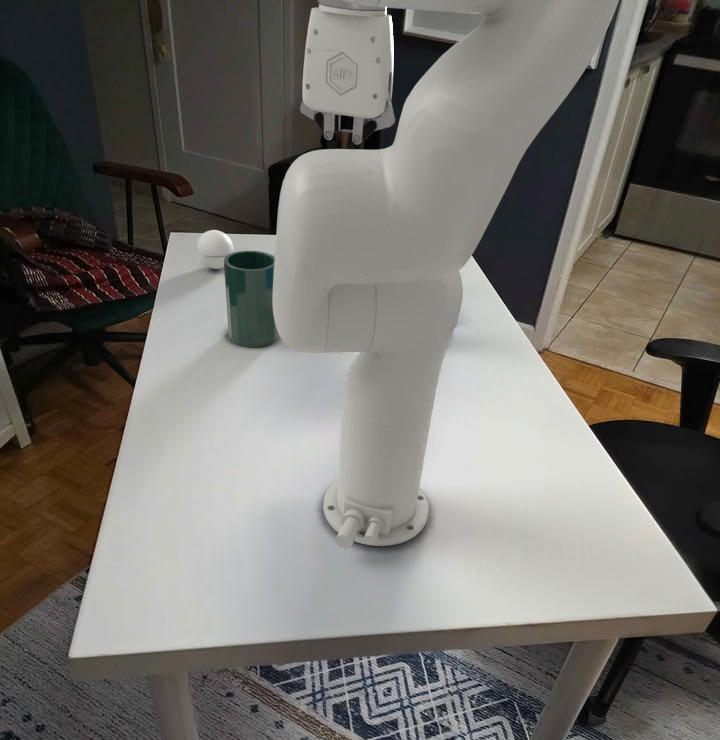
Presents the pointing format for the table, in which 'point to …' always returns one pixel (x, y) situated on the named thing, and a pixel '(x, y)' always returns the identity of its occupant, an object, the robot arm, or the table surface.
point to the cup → (250, 298)
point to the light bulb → (214, 248)
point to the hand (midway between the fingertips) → (344, 172)
